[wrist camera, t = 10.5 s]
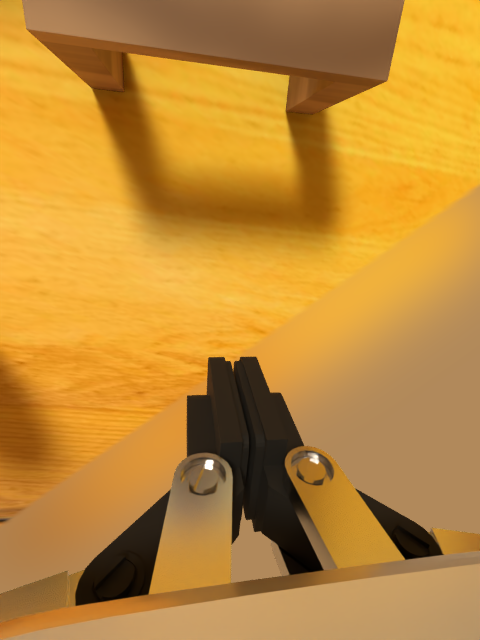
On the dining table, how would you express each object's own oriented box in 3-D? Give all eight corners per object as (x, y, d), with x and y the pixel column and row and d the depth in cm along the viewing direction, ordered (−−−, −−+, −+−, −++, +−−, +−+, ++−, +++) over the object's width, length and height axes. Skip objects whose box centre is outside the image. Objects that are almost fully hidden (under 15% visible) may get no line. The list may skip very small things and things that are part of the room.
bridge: (86, 29, 20) (10, -83, 11) (319, 63, 22) (405, -6, 14) (91, 88, 21) (26, 29, 12) (312, 114, 24) (387, 81, 15)
